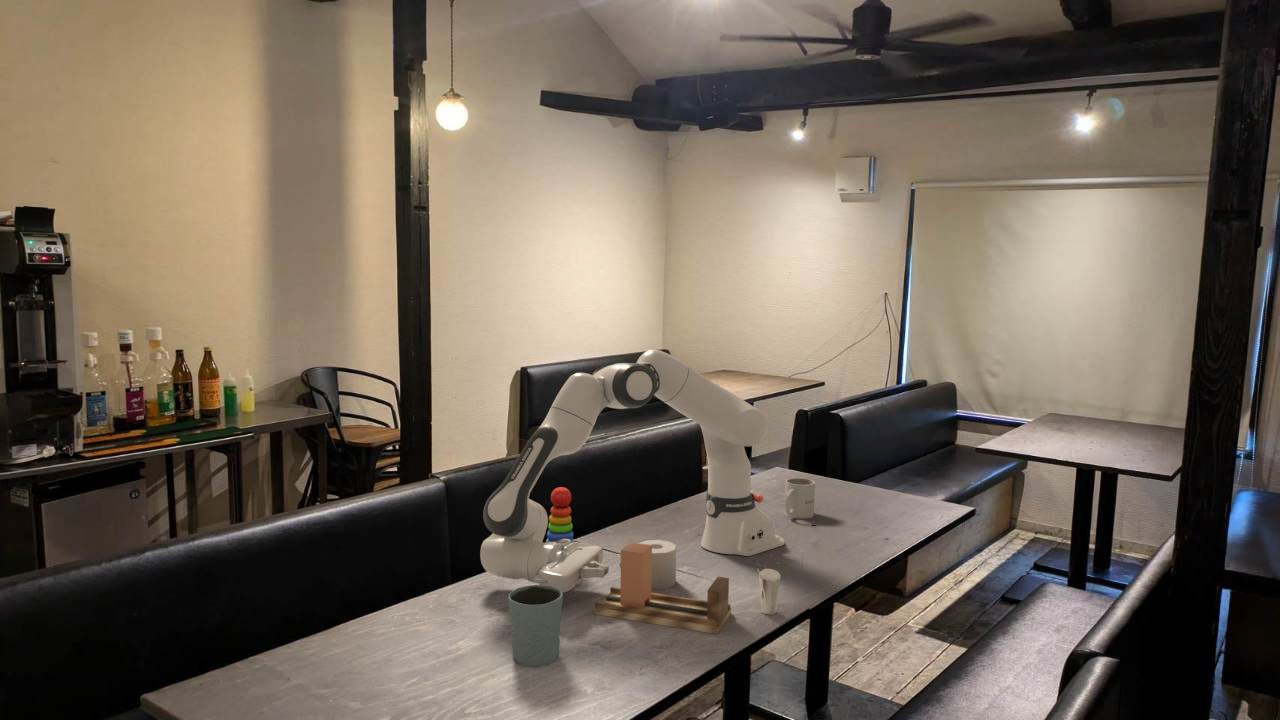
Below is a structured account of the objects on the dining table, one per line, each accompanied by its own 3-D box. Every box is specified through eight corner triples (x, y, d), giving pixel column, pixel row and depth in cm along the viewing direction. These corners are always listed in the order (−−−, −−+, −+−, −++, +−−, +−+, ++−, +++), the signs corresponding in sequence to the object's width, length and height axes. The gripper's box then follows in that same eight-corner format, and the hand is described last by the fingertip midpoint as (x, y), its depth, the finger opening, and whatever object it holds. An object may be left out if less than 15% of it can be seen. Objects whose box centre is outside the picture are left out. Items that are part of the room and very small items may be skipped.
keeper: (620, 605, 177) (620, 550, 176) (629, 596, 183) (630, 542, 181) (642, 609, 176) (643, 553, 174) (651, 599, 181) (651, 545, 180)
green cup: (516, 672, 151) (516, 608, 150) (502, 648, 160) (502, 588, 159) (570, 662, 155) (570, 599, 154) (553, 640, 164) (553, 580, 163)
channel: (593, 613, 177) (593, 576, 176) (612, 595, 187) (613, 559, 186) (717, 634, 168) (718, 594, 167) (731, 613, 178) (731, 575, 177)
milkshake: (750, 610, 180) (751, 564, 179) (772, 606, 182) (773, 561, 181) (761, 618, 175) (763, 572, 174) (783, 614, 178) (785, 568, 176)
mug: (797, 508, 256) (798, 476, 255) (819, 515, 250) (820, 482, 249) (770, 515, 249) (771, 482, 247) (792, 522, 242) (794, 488, 241)
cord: (605, 600, 181) (605, 595, 181) (606, 598, 182) (606, 594, 182) (712, 616, 173) (712, 612, 173) (713, 615, 174) (713, 610, 174)
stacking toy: (570, 568, 203) (570, 493, 201) (539, 565, 205) (539, 490, 203) (579, 557, 211) (579, 484, 209) (549, 555, 212) (549, 482, 210)
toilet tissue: (616, 577, 198) (617, 541, 197) (671, 574, 200) (672, 539, 199) (622, 591, 189) (622, 554, 188) (679, 588, 191) (680, 552, 190)
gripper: (526, 565, 176) (586, 574, 171) (567, 536, 195) (623, 543, 190) (526, 594, 176) (586, 603, 172) (567, 562, 195) (623, 570, 191)
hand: (606, 571), depth 181 cm, fingers closed
